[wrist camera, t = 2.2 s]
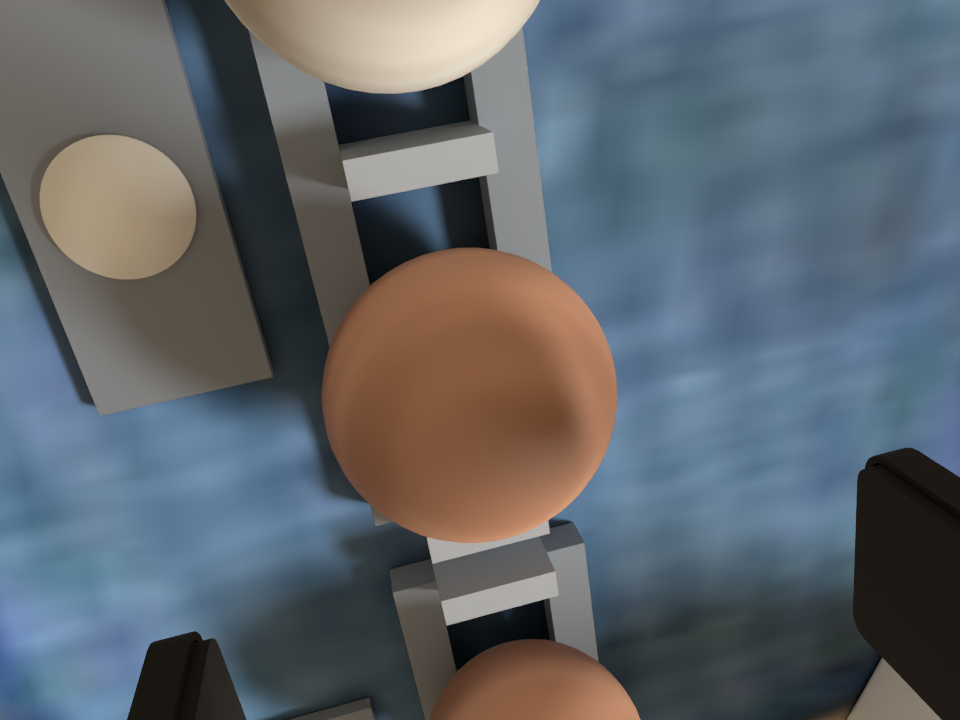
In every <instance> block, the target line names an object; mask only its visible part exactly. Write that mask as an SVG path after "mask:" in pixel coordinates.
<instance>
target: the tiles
mask: <svg viewBox="0 0 960 720" xmlns="http://www.w3.org/2000/svg"><path fill="white" fill-rule="evenodd" d="M0 173H1V176H2V178H3V180H4V183H5V185H6V188H7V190H8V193H9V195H10V198H11V200H12V203H13V205H14V207H15V210H16V212H17V215H18V217H19V220H20V222H21V225H22V227H23V229H24V232H25V234H26V237H27V239H28V242H29V244H30V247H31V249H32V251H33V254H34V256H35V259H36V261H37V264H38V266H39V269H40V271H41V273H42V276H43V278H44V281H45V283H46V286H47V288H48V291H49V293H50V295H51V298H52V300H53V303H54V305H55V308H56V310H57V313H58V315H59V318H60V320H61V322H62V325H63V327H64V330H65V332H66V335H67V337H68V340H69V342H70V344H71V347H72V349H73V352H74V354H75V357H76V359H77V362H78V364H79V366H80V369H81V371H82V374H83V376H84V379H85V381H86V384H87V386H88V388H89V391H90V393H91V396H92V398H93V401H94V403H95V406H96V408H97V411H98V413H99V415H100V416H101V415H106V414H110V413H115V412H119V411H124V410H128V409H133V408H137V407H142V406H146V405H151V404H155V403H160V402H164V401H169V400H173V399H178V398H182V397H187V396H191V395H196V394H200V393H205V392H209V391H214V390H218V389H223V388H227V387H232V386H236V385H241V384H245V383H250V382H254V381H259V380H263V379H268V378H272V377H273V372H274V370H273V367H272V363H271V360H270V357H269V353H268V350H267V346H266V343H265V340H264V336H263V333H262V329H261V326H260V322H259V319H258V316H257V312H256V309H255V305H254V302H253V299H252V295H251V292H250V288H249V285H248V282H247V278H246V275H245V271H244V268H243V265H242V261H241V258H240V254H239V251H238V248H237V244H236V241H235V237H234V234H233V230H232V227H231V224H230V220H229V217H228V213H227V210H226V207H225V203H224V200H223V196H222V193H221V190H220V186H219V183H218V179H217V176H216V173H215V169H214V166H213V162H212V159H211V156H210V152H209V149H208V145H207V142H206V138H205V135H204V132H203V128H202V125H201V121H200V118H199V115H198V111H197V108H196V104H195V101H194V98H193V94H192V91H191V87H190V84H189V81H188V77H187V74H186V70H185V67H184V64H183V60H182V57H181V53H180V50H179V46H178V43H177V40H176V36H175V33H174V29H173V26H172V23H171V19H170V16H169V12H168V9H167V6H166V2H165V0H0ZM289 720H376V718H375V714H374V711H373V708H372V704H371V701H370V697H368V698H365V699H361V700H357V701H354V702H350V703H347V704H343V705H339V706H336V707H332V708H329V709H325V710H321V711H318V712H314V713H311V714H307V715H303V716H300V717H296V718H293V719H289Z"/></svg>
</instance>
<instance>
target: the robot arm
mask: <svg viewBox="0 0 960 720" xmlns="http://www.w3.org/2000/svg"><path fill="white" fill-rule="evenodd" d="M853 616H854V620H855V623H856V626H857V628H858V630H859V632H860V633H861V635H862V636H863V638H864V639H865V640H866V641H867V642H868V643H869V644H870V645H871V646H872V647H873V648H874V649H875V650H876V652H877V653H878V654H879V655H880V656H881V657H882V658H883V659H884V660H885V661H886V662H887V663H888V664H889V665H890V666H891V667H892V668H893V669H894V670H895V671H896V672H897V674H898V675H899V676H900V677H901V678H902V679H903V680H904V681H905V682H906V683H907V684H908V685H909V686H910V687H911V688H912V689H913V690H914V691H915V692H916V693H917V694H918V696H919V697H920V698H921V699H922V700H923V701H924V702H925V703H926V704H927V705H928V706H929V707H930V708H931V709H932V710H933V711H934V712H935V713H936V714H937V715H938V716H939V718H940V719H941V720H960V477H958V476H957V475H955V474H954V473H952V472H950V471H949V470H947V469H946V468H944V467H943V466H941V465H939V464H938V463H936V462H935V461H933V460H932V459H930V458H929V457H927V456H925V455H924V454H922V453H921V452H919V451H917V450H915V449H913V448H903V449H899V450H895V451H891V452H887V453H884V454H880V455H876V456H873V457H871V458H869V459H868V461H867V463H866V466H865V469H863V470H861V471H860V473H859V474H858V480H857V509H856V538H855V568H854V598H853ZM127 720H246V717H245V715H244V712H243V709H242V707H241V704H240V701H239V699H238V696H237V693H236V691H235V688H234V685H233V682H232V680H231V677H230V674H229V672H228V669H227V666H226V664H225V661H224V658H223V656H222V653H221V650H220V648H219V645H218V643H217V641H216V640H215V639H213V638H212V639H208V640H204V641H203V640H202V638H201V636H200V634H199V633H198V632H195V631H194V632H190V633H186V634H182V635H178V636H174V637H171V638H167V639H163V640H159V641H155V642H153V643H151V644H150V646H149V648H148V650H147V653H146V657H145V660H144V664H143V667H142V671H141V674H140V678H139V681H138V684H137V688H136V691H135V695H134V698H133V702H132V705H131V708H130V712H129V715H128V719H127Z"/></svg>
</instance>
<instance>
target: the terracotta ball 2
mask: <svg viewBox="0 0 960 720" xmlns="http://www.w3.org/2000/svg"><path fill="white" fill-rule="evenodd" d="M429 720H641V719H640V717H639V714H638V712H637V709H636V707H635V706H634V704H633V702H632V700H631V699H630V697H629V695H628V694H627V692H626V691H625V689H624V688H623V686H622V685H621V684H620V683H619V682H618V680H617V679H616V678H615V677H614V676H613V675H612V674H611V673H610V672H609V671H608V670H607V669H606V668H605V667H604V666H603V665H601V664H600V663H599V662H598V661H596V660H595V659H594V658H592V657H590V656H589V655H587V654H585V653H584V652H582V651H580V650H578V649H576V648H574V647H571V646H568V645H565V644H562V643H559V642H555V641H551V640H543V639H522V640H514V641H510V642H505V643H502V644H499V645H496V646H494V647H492V648H489V649H487V650H485V651H483V652H482V653H480V654H478V655H477V656H475V657H474V658H473V659H471V660H470V661H469V662H467V663H466V664H465V665H464V666H463V667H462V668H460V669H459V670H458V671H457V672H456V673H455V675H454V676H453V677H452V678H451V679H450V681H449V682H448V683H447V685H446V686H445V688H444V689H443V691H442V692H441V693H440V695H439V697H438V699H437V701H436V703H435V705H434V707H433V710H432V712H431V715H430V718H429Z"/></svg>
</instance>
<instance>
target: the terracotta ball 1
mask: <svg viewBox="0 0 960 720" xmlns="http://www.w3.org/2000/svg"><path fill="white" fill-rule="evenodd" d="M616 409H617V382H616V374H615V368H614V362H613V358H612V355H611V352H610V349H609V346H608V343H607V340H606V338H605V335H604V333H603V331H602V329H601V327H600V325H599V323H598V321H597V320H596V318H595V317H594V315H593V314H592V312H591V311H590V309H589V308H588V307H587V305H586V304H585V303H584V301H583V300H582V299H581V298H580V297H579V296H578V295H577V294H576V292H575V291H574V290H573V289H572V288H571V287H570V286H568V285H567V284H566V283H565V282H564V281H562V280H561V279H560V278H559V277H557V276H556V275H554V274H553V273H552V272H550V271H548V270H547V269H545V268H543V267H542V266H540V265H538V264H537V263H535V262H532V261H530V260H528V259H525V258H523V257H520V256H518V255H514V254H510V253H506V252H503V251H499V250H493V249H485V248H453V249H446V250H439V251H436V252H432V253H428V254H425V255H421V256H419V257H416V258H414V259H412V260H409V261H407V262H404V263H403V264H401V265H399V266H397V267H396V268H394V269H392V270H390V271H389V272H387V273H386V274H384V275H383V276H382V277H381V278H379V279H378V280H377V281H375V282H374V283H373V284H372V285H371V286H370V287H369V288H368V289H367V290H366V291H365V292H364V293H363V294H362V295H361V296H359V298H358V299H357V300H356V302H355V303H354V304H353V305H352V307H351V308H350V309H349V311H348V312H347V314H346V316H345V317H344V319H343V321H342V322H341V324H340V326H339V328H338V329H337V331H336V333H335V336H334V338H333V341H332V343H331V346H330V348H329V351H328V355H327V359H326V363H325V367H324V375H323V385H322V411H323V416H324V421H325V426H326V431H327V436H328V439H329V442H330V445H331V448H332V451H333V453H334V455H335V457H336V459H337V461H338V463H339V465H340V467H341V468H342V470H343V472H344V474H345V476H346V477H347V479H348V480H349V481H350V483H351V484H352V485H353V487H354V488H355V489H356V491H357V492H358V493H359V494H360V495H361V496H362V497H363V498H364V499H365V500H366V501H367V502H368V503H369V504H370V505H371V506H372V507H373V508H374V509H376V510H377V511H378V512H380V513H381V514H382V515H384V516H385V517H386V518H388V519H390V520H391V521H393V522H395V523H397V524H398V525H400V526H402V527H404V528H406V529H408V530H410V531H412V532H415V533H417V534H420V535H422V536H426V537H429V538H433V539H437V540H443V541H450V542H458V543H482V542H492V541H497V540H502V539H507V538H510V537H513V536H516V535H519V534H522V533H524V532H527V531H529V530H531V529H534V528H536V527H538V526H539V525H541V524H543V523H545V522H546V521H548V520H550V519H551V518H553V517H554V516H555V515H557V514H558V513H560V512H561V511H562V510H563V509H564V508H566V507H567V506H568V505H569V504H570V503H571V502H572V501H573V500H574V499H575V498H576V497H577V496H578V495H579V494H580V493H581V491H582V490H583V489H584V488H585V486H586V485H587V484H588V482H589V481H590V479H591V478H592V477H593V475H594V474H595V472H596V471H597V469H598V467H599V465H600V463H601V461H602V460H603V458H604V455H605V453H606V450H607V448H608V445H609V443H610V439H611V435H612V431H613V427H614V423H615V417H616Z"/></svg>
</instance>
